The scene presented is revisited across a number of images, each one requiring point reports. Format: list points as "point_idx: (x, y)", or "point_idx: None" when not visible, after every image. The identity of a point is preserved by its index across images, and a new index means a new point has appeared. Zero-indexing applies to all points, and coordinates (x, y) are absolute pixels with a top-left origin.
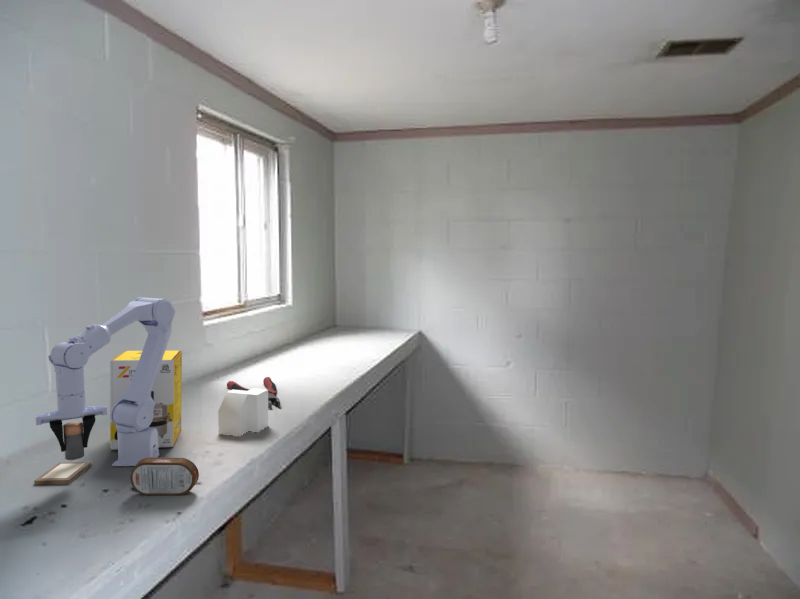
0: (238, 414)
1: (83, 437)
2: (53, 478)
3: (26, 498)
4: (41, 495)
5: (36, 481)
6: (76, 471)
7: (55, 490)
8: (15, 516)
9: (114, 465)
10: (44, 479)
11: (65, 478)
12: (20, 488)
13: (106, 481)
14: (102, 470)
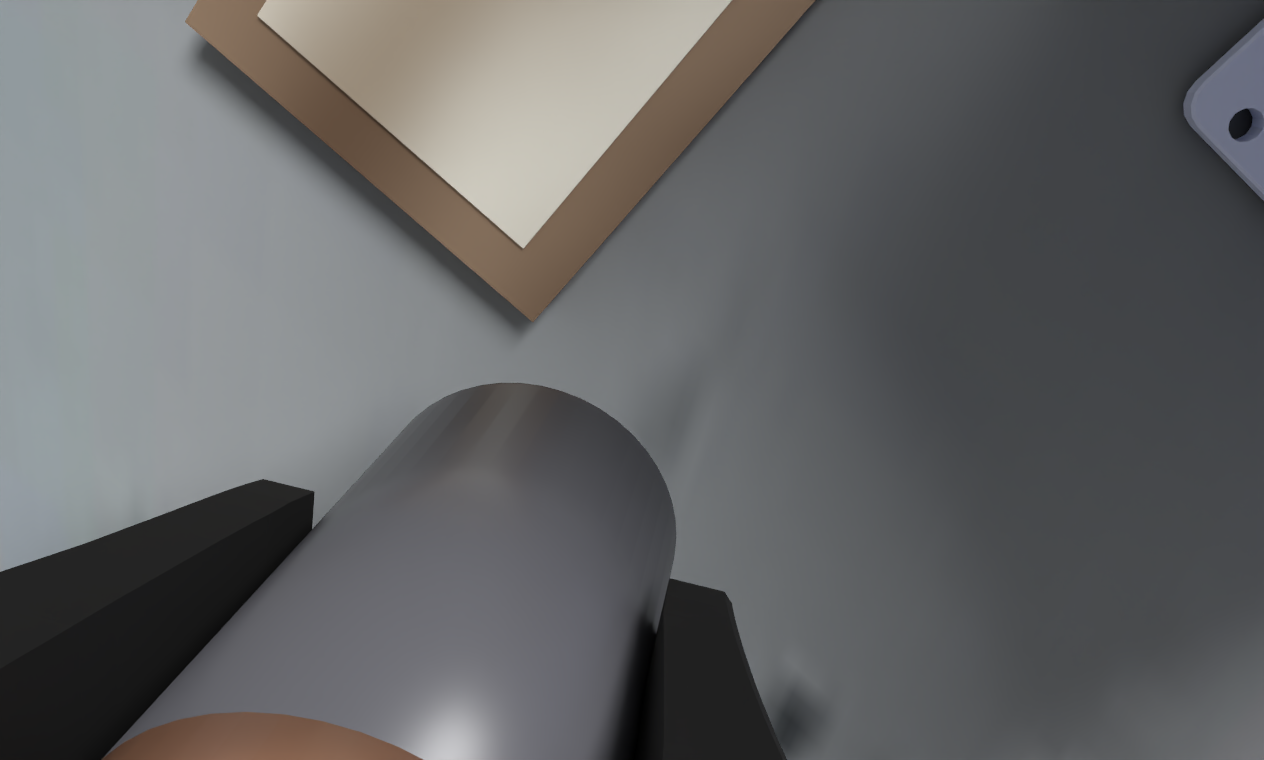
0: None
1: (643, 756)
2: (390, 132)
3: (138, 371)
4: (264, 402)
5: (215, 43)
6: (685, 79)
7: (395, 375)
8: None
9: (1205, 140)
10: (296, 75)
11: (512, 237)
12: (79, 26)
13: (887, 527)
14: (1013, 139)
